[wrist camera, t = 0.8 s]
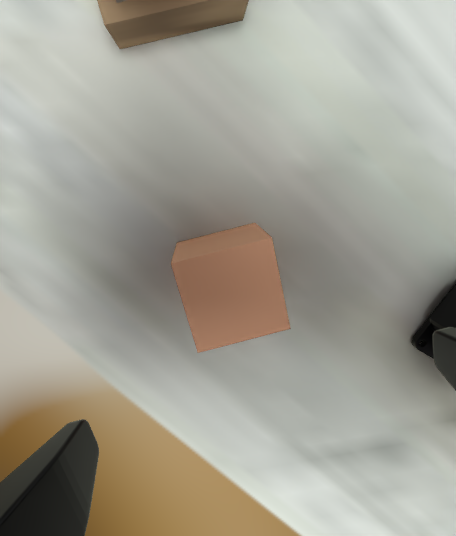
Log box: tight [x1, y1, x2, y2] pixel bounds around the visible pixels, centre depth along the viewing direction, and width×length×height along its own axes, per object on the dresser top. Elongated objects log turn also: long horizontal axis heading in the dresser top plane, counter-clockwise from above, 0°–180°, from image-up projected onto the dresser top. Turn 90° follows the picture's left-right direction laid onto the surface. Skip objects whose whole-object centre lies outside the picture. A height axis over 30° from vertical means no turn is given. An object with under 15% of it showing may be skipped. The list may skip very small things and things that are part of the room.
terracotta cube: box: [171, 223, 290, 353], centre depth 17 cm, size 4×4×4 cm
